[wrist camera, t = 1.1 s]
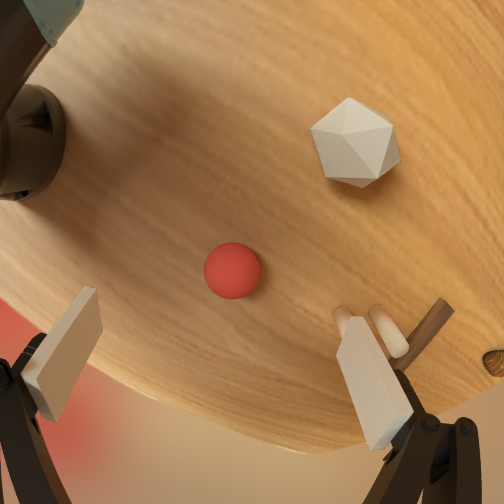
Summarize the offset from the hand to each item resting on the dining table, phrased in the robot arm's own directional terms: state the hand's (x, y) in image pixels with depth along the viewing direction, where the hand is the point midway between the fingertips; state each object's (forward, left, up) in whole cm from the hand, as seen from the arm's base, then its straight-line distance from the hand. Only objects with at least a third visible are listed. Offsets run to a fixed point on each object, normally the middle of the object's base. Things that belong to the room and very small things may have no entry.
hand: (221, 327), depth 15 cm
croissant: (+60, +1, -21) cm, 64 cm away
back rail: (+32, -5, -21) cm, 38 cm away
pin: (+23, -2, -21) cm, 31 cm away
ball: (+2, -5, -18) cm, 18 cm away
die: (+6, +13, -21) cm, 25 cm away
